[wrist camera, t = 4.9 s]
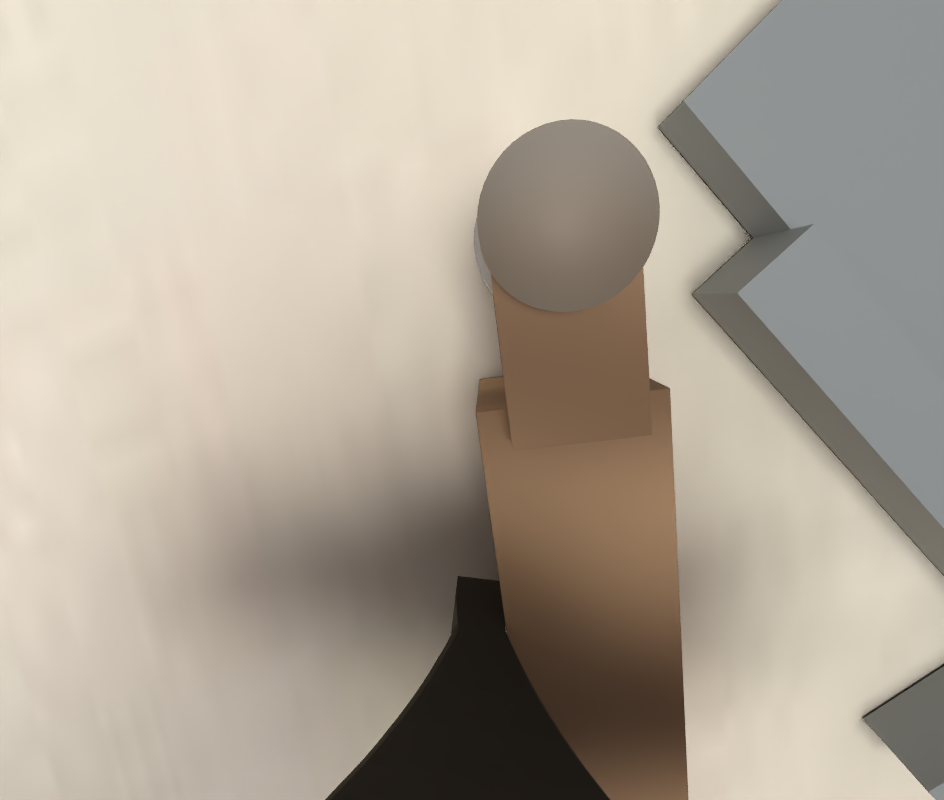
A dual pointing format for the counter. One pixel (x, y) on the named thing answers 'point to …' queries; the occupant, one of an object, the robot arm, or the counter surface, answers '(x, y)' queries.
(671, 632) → the leg bar
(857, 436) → the grey stepped plate
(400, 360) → the counter surface
